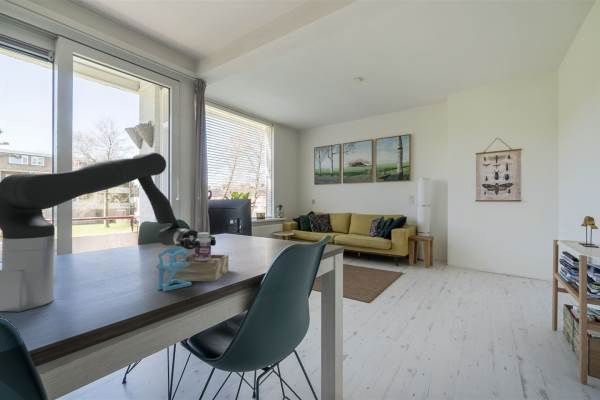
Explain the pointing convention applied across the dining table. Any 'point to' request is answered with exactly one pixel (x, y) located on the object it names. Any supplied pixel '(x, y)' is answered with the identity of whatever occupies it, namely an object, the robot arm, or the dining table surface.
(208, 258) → the pill bottle
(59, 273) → the dining table surface
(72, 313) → the dining table surface
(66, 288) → the dining table surface
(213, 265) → the birch block
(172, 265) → the chair
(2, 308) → the robot arm
